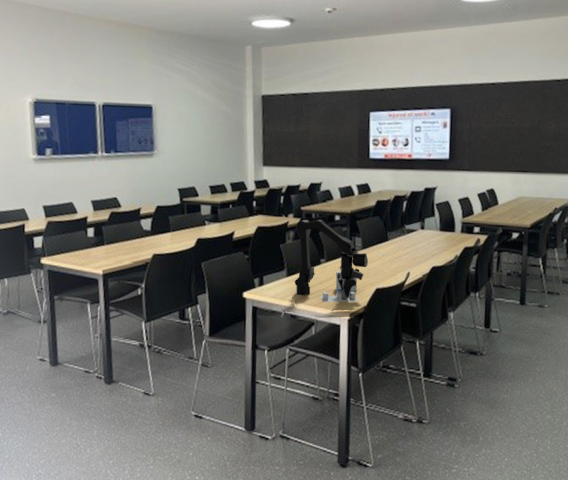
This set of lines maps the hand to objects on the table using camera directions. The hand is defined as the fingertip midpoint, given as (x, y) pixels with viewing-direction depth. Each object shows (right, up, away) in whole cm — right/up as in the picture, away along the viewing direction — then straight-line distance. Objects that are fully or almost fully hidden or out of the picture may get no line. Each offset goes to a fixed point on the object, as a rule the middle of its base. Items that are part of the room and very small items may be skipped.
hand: (345, 295), depth 305 cm
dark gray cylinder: (0, -1, 0) cm, 1 cm away
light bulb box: (+2, 0, +20) cm, 20 cm away
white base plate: (-3, -3, 0) cm, 4 cm away
